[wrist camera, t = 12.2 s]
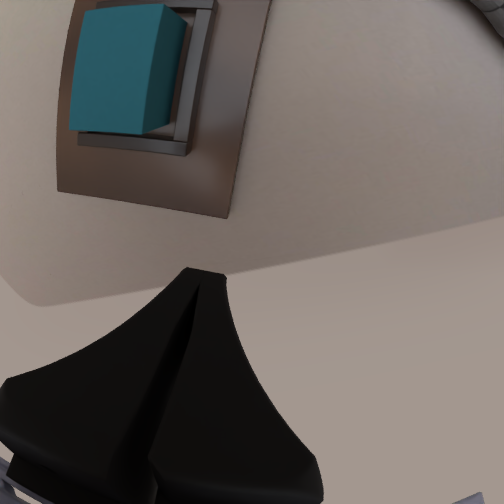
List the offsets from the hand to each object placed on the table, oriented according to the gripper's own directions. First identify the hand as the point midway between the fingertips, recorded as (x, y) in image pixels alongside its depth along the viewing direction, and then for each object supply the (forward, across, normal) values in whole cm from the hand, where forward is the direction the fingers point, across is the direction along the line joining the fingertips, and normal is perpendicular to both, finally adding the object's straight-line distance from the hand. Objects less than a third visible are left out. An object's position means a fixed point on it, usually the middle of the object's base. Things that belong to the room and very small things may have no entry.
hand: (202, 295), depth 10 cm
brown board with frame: (+9, +6, -7) cm, 13 cm away
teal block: (+8, +6, -7) cm, 12 cm away
